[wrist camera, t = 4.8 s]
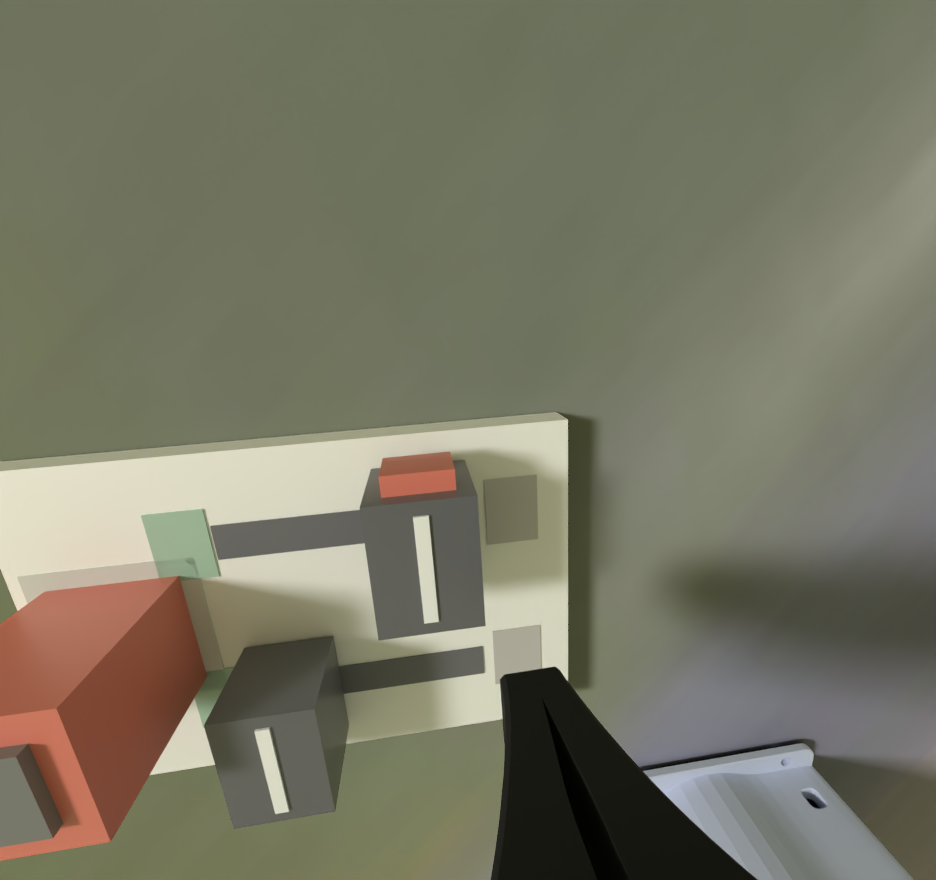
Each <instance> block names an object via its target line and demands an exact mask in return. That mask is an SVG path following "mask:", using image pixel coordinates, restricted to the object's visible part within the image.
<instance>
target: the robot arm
mask: <svg viewBox="0 0 936 880" xmlns="http://www.w3.org/2000/svg"><path fill="white" fill-rule="evenodd" d="M500 689H501V703H502V717H503V731H504V742H505V761H504V778H503V788H502V799H501V810H500V819H499V827H498V835H497V843H496V850H495V857H494V863H493V870H492V876H491V880H914V879H913V878H912V877H911V876H910V875H909V874H908V872H907V871H906V870H905V869H904V868H903V867H902V866H901V865H900V863H899V862H898V861H897V860H896V859H895V858H894V857H893V856H892V855H891V853H890V852H889V851H888V850H887V849H886V848H885V847H884V846H883V844H882V843H881V842H880V841H879V840H878V839H877V838H876V837H875V835H874V834H873V833H872V832H871V831H870V830H869V829H868V828H867V827H866V825H865V824H864V823H863V822H862V821H861V820H860V819H859V818H858V816H857V815H856V814H855V813H854V812H853V811H852V810H851V809H850V808H849V806H848V805H847V804H846V803H845V802H844V801H843V800H842V799H841V797H840V796H839V795H838V794H837V793H836V792H835V791H834V790H833V789H832V787H831V786H830V785H829V784H828V783H827V782H826V781H825V780H824V778H823V777H822V776H821V775H820V774H819V773H818V772H817V771H816V770H815V768H814V767H813V766H812V762H813V757H814V753H813V751H812V750H811V749H810V748H809V747H808V746H807V745H806V744H804V743H799V744H793V745H787V746H782V747H776V748H770V749H764V750H759V751H753V752H747V753H742V754H736V755H730V756H725V757H719V758H713V759H708V760H702V761H696V762H691V763H685V764H679V765H674V766H668V767H662V768H657V769H651V770H645V771H642V770H641V769H640V768H639V767H638V766H637V765H636V763H635V762H634V761H633V760H632V759H631V758H630V757H629V756H628V755H627V754H626V752H625V751H624V750H623V749H622V748H621V747H620V745H619V744H618V743H617V742H616V741H615V740H614V739H613V737H612V736H611V735H610V734H609V733H608V732H607V730H606V729H605V728H604V727H603V726H602V725H601V723H600V722H599V721H598V720H597V718H596V717H595V716H594V715H593V714H592V712H591V711H590V710H589V709H588V707H587V706H586V705H585V703H584V702H583V701H582V700H581V698H580V697H579V696H578V694H577V693H576V692H575V690H574V689H573V688H572V686H571V685H570V684H569V682H568V681H567V680H566V678H565V677H564V675H563V674H562V673H561V671H560V670H559V669H558V668H557V667H548V668H542V669H536V670H530V671H523V672H517V673H511V674H504V675H503V676H502V677H501V679H500Z"/></svg>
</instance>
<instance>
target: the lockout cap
mask: <svg viewBox="0 0 936 880" xmlns="http://www.w3.org/2000/svg"><path fill="white" fill-rule="evenodd" d="M206 677H207V674H206V671H205V667H204V664H203V660H202V656H201V653H200V649H199V646H198V642H197V639H196V635H195V631H194V628H193V624H192V621H191V617H190V614H189V610H188V606H187V603H186V599H185V596H184V592H183V589H182V585H181V581H180V578H179V576H173V577H165V578H156V579H148V580H139V581H130V582H122V583H113V584H105V585H96V586H88V587H79V588H71V589H62V590H54V591H45V592H43V593H42V594H40V595H39V596H38V597H36V598H35V599H34V600H32V601H31V602H29V603H28V604H27V605H25V606H24V607H23V608H21V609H20V610H19V611H17V612H16V613H14V614H13V615H12V616H10V617H9V618H8V619H6V620H5V621H4V622H2V623H1V624H0V861H1V860H7V859H13V858H18V857H24V856H30V855H36V854H42V853H48V852H53V851H59V850H65V849H71V848H77V847H83V846H88V845H94V844H100V843H106V842H111V840H112V838H113V837H114V835H115V833H116V832H117V830H118V828H119V826H120V825H121V823H122V821H123V820H124V818H125V816H126V814H127V813H128V811H129V809H130V808H131V806H132V804H133V802H134V801H135V799H136V797H137V796H138V794H139V792H140V790H141V789H142V787H143V785H144V784H145V782H146V780H147V778H148V777H149V775H150V773H151V772H152V770H153V768H154V766H155V765H156V763H157V761H158V760H159V758H160V756H161V754H162V753H163V751H164V749H165V748H166V746H167V744H168V742H169V741H170V739H171V737H172V736H173V734H174V732H175V730H176V729H177V727H178V725H179V724H180V722H181V720H182V718H183V717H184V715H185V713H186V712H187V710H188V708H189V706H190V705H191V703H192V701H193V700H194V698H195V696H196V694H197V693H198V691H199V689H200V688H201V686H202V684H203V682H204V681H205V679H206Z"/></svg>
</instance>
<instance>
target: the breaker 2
mask: <svg viewBox="0 0 936 880" xmlns="http://www.w3.org/2000/svg"><path fill="white" fill-rule="evenodd" d="M360 515H361V522H362V529H363V536H364V543H365V550H366V557H367V564H368V570H369V577H370V584H371V591H372V598H373V605H374V612H375V619H376V626H377V633H378V640H387V639H394V638H401V637H409V636H416V635H423V634H431V633H438V632H445V631H452V630H460V629H467V628H474V627H482V626H486V624H485V608H484V592H483V576H482V560H481V544H480V527H479V511H478V495H477V493H476V490H475V487H474V484H473V482H472V479H471V476H470V473H469V470H468V468H467V465H466V462H465V460H456V461H453V460H452V457H451V453H450V452H440V453H429V454H419V455H409V456H398V457H388V458H383V459H382V463H381V467H380V468H375V469H371V470H370V474H369V477H368V481H367V484H366V487H365V491H364V494H363V498H362V501H361V505H360Z"/></svg>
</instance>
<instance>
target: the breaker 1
mask: <svg viewBox="0 0 936 880" xmlns="http://www.w3.org/2000/svg"><path fill="white" fill-rule="evenodd" d="M204 728H205V732H206V735H207V739H208V742H209V745H210V749H211V752H212V756H213V759H214V762H215V766H216V769H217V773H218V776H219V779H220V783H221V786H222V790H223V793H224V796H225V800H226V803H227V807H228V810H229V813H230V817H231V820H232V824H233V827H234V829H236V828H241V827H247V826H253V825H259V824H265V823H270V822H276V821H282V820H288V819H294V818H299V817H305V816H311V815H317V814H322V813H328V812H334V811H335V809H336V803H337V797H338V790H339V784H340V778H341V772H342V766H343V759H344V753H345V747H346V741H347V735H348V728H349V721H348V716H347V710H346V704H345V699H344V693H343V688H342V682H341V676H340V671H339V665H338V659H337V654H336V648H335V642H334V637H333V636H327V637H320V638H313V639H305V640H298V641H290V642H283V643H275V644H268V645H260V646H253V647H246V648H244V649H243V651H242V653H241V655H240V657H239V659H238V661H237V663H236V665H235V667H234V668H233V670H232V672H231V674H230V676H229V678H228V680H227V682H226V684H225V686H224V688H223V690H222V692H221V693H220V695H219V697H218V699H217V701H216V703H215V705H214V707H213V709H212V711H211V713H210V715H209V717H208V718H207V720H206V722H205V724H204Z"/></svg>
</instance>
